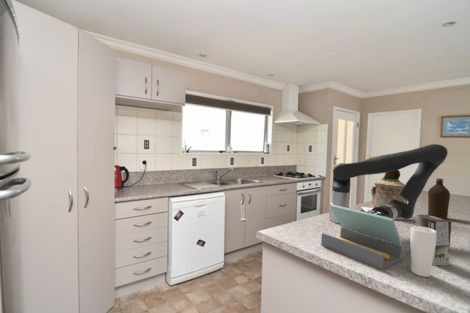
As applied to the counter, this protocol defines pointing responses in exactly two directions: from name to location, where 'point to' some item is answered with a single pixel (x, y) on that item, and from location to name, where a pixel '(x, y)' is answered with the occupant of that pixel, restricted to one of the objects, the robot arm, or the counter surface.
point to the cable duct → (361, 252)
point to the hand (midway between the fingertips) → (364, 219)
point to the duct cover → (368, 224)
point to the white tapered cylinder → (422, 250)
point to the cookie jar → (388, 191)
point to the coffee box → (438, 236)
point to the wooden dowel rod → (367, 248)
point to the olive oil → (438, 200)
